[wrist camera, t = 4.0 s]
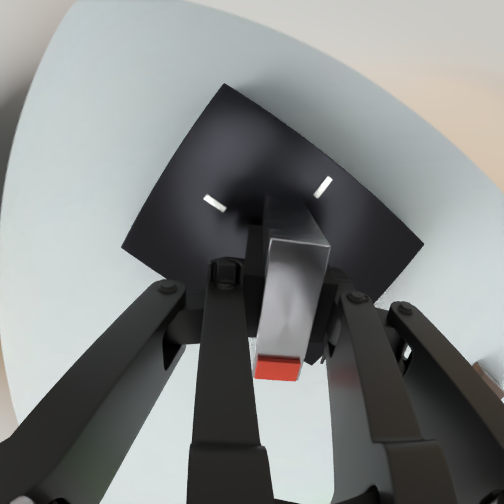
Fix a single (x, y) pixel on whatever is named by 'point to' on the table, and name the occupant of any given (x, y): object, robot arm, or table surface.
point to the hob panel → (261, 202)
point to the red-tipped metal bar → (288, 288)
